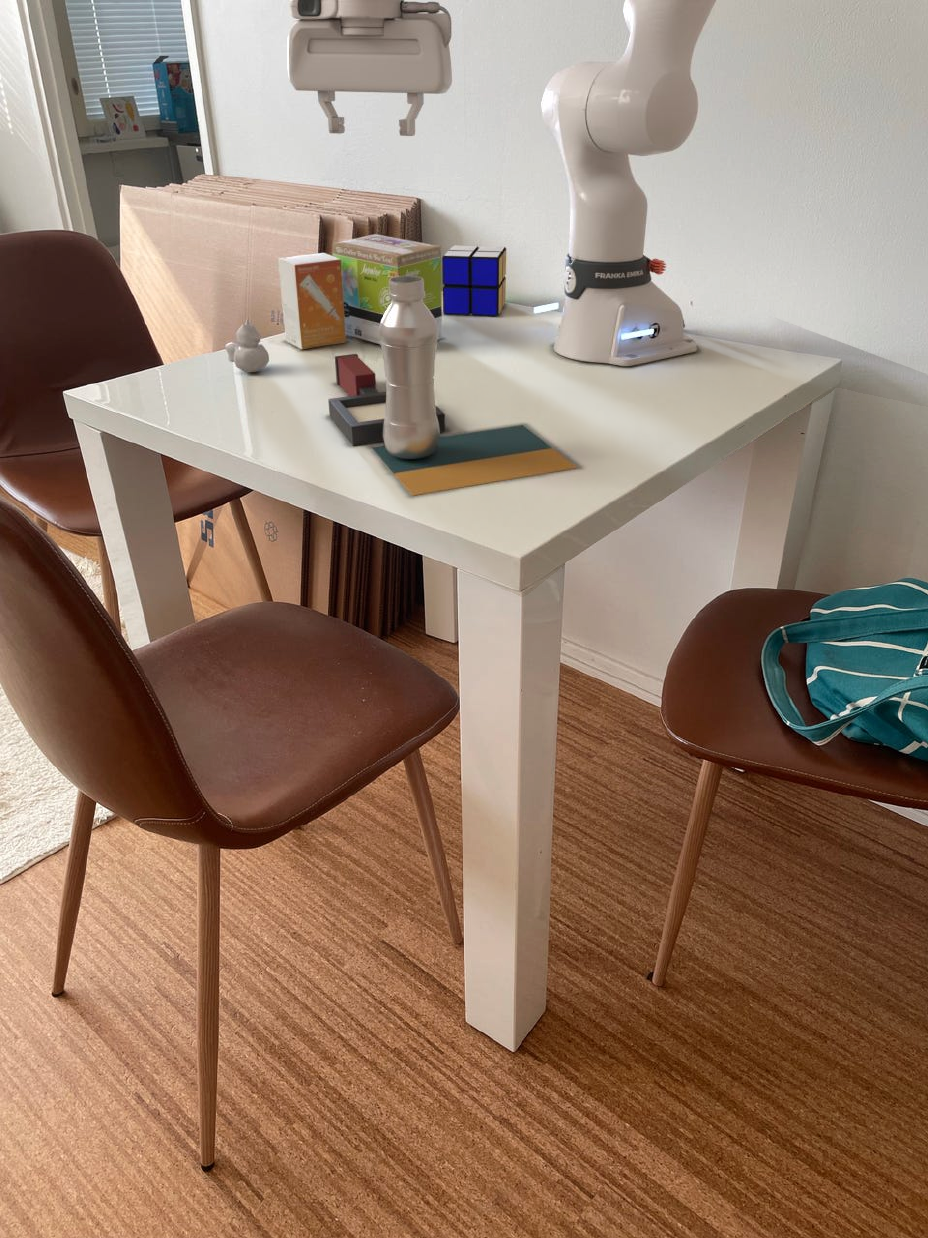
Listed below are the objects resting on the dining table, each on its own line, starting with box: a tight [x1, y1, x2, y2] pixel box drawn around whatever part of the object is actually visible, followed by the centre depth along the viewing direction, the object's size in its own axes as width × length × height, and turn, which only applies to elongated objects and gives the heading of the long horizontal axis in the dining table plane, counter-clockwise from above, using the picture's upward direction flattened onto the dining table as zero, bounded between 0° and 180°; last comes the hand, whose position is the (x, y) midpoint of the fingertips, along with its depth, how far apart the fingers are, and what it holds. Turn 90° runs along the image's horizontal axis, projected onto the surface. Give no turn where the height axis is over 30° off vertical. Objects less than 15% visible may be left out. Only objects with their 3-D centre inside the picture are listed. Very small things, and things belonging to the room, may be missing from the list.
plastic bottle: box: [379, 276, 441, 459], centre depth 105 cm, size 6×7×20 cm
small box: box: [277, 252, 347, 350], centre depth 148 cm, size 8×6×13 cm
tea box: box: [332, 233, 443, 346], centre depth 150 cm, size 15×10×15 cm
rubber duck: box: [224, 316, 270, 373], centre depth 137 cm, size 5×7×8 cm
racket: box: [327, 353, 446, 446], centre depth 123 cm, size 24×12×4 cm, turn 22°
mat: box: [372, 424, 578, 497], centre depth 110 cm, size 20×15×1 cm
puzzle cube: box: [441, 244, 507, 317], centre depth 167 cm, size 10×10×10 cm
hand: (371, 134), depth 116 cm, fingers open, 8 cm apart
